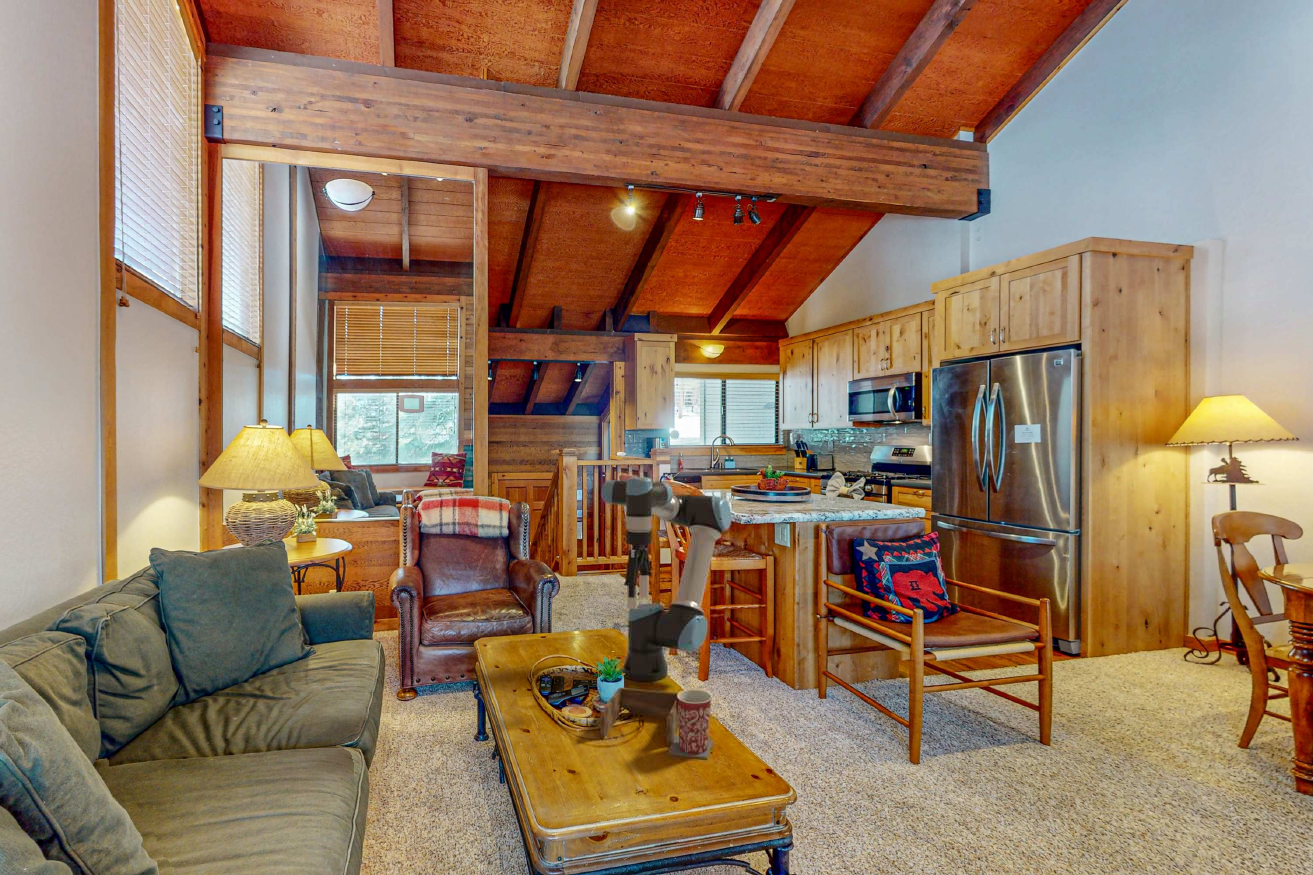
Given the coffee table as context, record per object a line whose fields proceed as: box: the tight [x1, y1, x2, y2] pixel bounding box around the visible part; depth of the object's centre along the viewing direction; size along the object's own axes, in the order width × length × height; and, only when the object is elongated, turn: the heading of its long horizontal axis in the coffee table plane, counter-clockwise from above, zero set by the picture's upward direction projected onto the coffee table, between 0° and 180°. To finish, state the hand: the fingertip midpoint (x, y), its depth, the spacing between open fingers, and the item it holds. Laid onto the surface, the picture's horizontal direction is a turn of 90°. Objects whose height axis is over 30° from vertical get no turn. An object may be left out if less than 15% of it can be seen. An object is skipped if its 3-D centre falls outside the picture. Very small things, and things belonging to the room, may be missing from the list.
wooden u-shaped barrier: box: [599, 687, 679, 747], centre depth 189 cm, size 18×19×7 cm
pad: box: [667, 735, 714, 760], centre depth 177 cm, size 10×10×1 cm
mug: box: [676, 688, 713, 754], centre depth 178 cm, size 13×9×14 cm
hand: (638, 602), depth 201 cm, fingers open, 13 cm apart
